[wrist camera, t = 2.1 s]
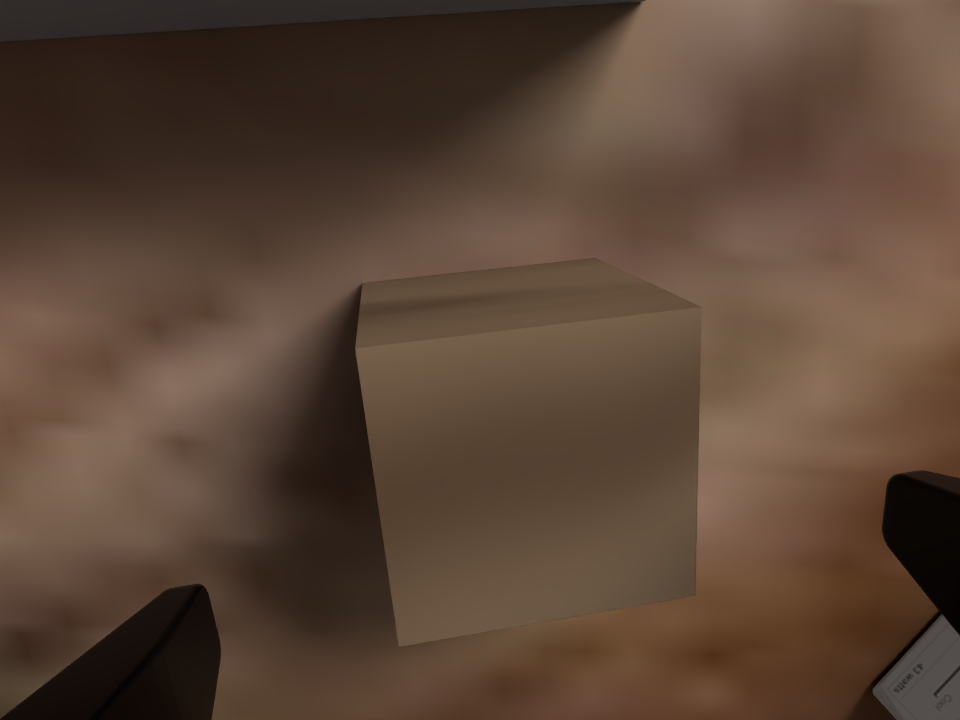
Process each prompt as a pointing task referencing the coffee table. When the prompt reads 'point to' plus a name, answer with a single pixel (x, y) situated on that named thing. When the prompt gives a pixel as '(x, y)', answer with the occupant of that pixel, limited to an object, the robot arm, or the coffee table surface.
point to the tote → (221, 13)
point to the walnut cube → (530, 443)
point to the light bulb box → (925, 678)
